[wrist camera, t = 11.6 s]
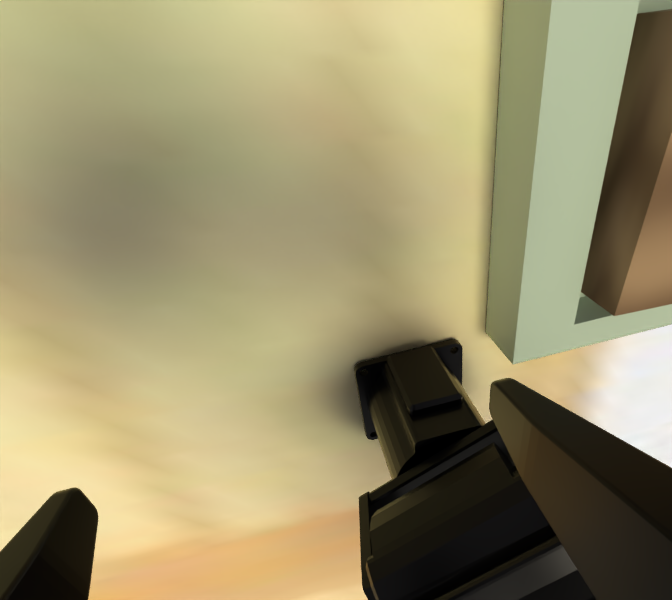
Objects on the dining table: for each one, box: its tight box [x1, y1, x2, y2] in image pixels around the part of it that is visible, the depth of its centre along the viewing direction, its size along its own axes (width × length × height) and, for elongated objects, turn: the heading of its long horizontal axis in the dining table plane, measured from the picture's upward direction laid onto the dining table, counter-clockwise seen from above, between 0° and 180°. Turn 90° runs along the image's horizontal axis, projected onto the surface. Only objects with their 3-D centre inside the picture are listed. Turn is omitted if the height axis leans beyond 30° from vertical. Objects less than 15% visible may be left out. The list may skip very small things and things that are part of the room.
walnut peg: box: [581, 9, 672, 316], centre depth 18 cm, size 12×4×4 cm, turn 6°
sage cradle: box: [486, 0, 672, 364], centre depth 19 cm, size 18×12×3 cm, turn 9°
